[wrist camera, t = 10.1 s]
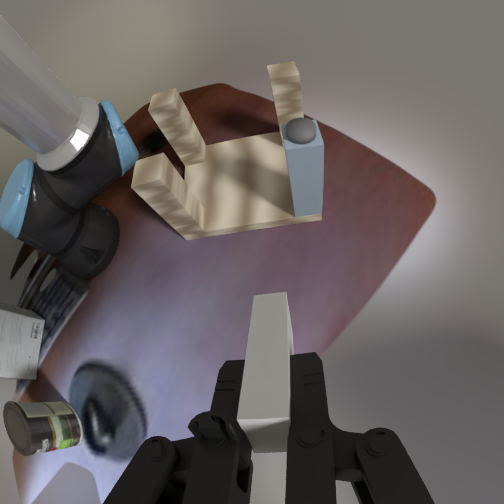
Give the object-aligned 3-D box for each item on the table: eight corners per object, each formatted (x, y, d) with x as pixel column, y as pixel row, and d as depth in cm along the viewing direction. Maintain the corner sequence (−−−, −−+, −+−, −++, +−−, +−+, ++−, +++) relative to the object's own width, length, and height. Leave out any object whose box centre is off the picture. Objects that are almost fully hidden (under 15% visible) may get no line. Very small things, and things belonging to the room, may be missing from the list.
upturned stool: (186, 240, 45) (131, 187, 30) (190, 156, 52) (152, 95, 36) (321, 219, 42) (324, 148, 26) (302, 135, 48) (294, 61, 33)
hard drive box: (31, 309, 49) (-35, 288, 30) (46, 319, 47) (-26, 299, 28) (22, 368, 44) (-43, 358, 26) (36, 382, 42) (-33, 375, 24)
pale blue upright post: (295, 217, 41) (284, 143, 26) (291, 194, 42) (279, 117, 27) (321, 213, 40) (323, 138, 25) (317, 190, 41) (315, 113, 27)
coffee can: (90, 434, 37) (36, 445, 24) (70, 452, 36) (22, 462, 23) (65, 391, 40) (11, 391, 27) (47, 413, 39) (-2, 415, 26)
